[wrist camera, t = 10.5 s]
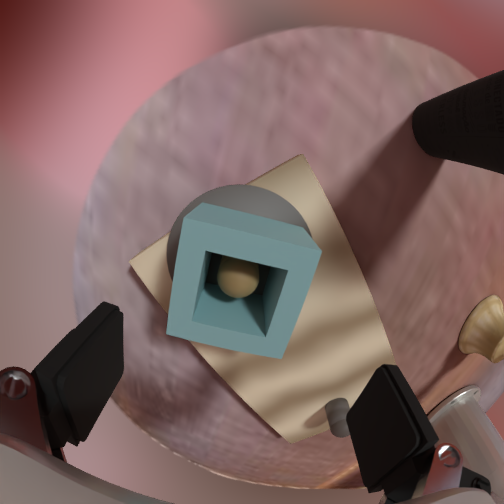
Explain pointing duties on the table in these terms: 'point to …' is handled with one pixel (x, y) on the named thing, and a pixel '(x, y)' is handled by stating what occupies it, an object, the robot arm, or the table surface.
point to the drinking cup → (465, 124)
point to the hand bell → (484, 330)
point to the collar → (252, 306)
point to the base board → (310, 318)
